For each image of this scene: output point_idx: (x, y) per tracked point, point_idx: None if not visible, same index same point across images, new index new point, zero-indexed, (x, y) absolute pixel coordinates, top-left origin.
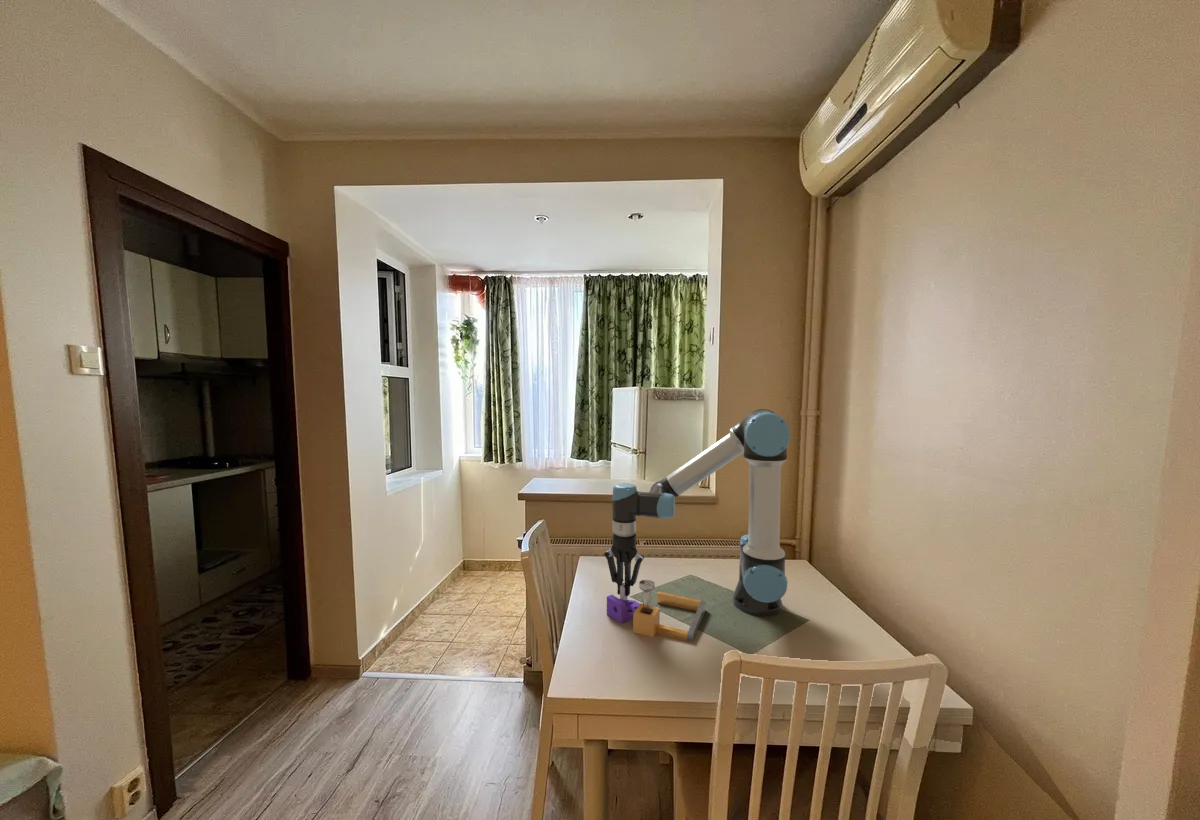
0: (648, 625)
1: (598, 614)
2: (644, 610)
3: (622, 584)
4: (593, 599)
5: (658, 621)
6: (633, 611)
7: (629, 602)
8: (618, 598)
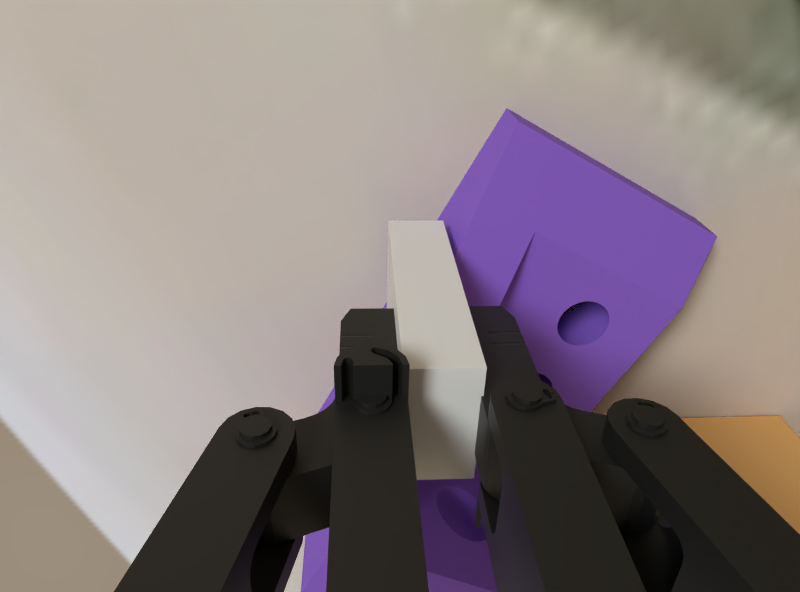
0: None
1: (229, 412)
2: None
3: (414, 424)
4: (2, 203)
5: None
6: (565, 388)
7: (497, 303)
8: (447, 579)
